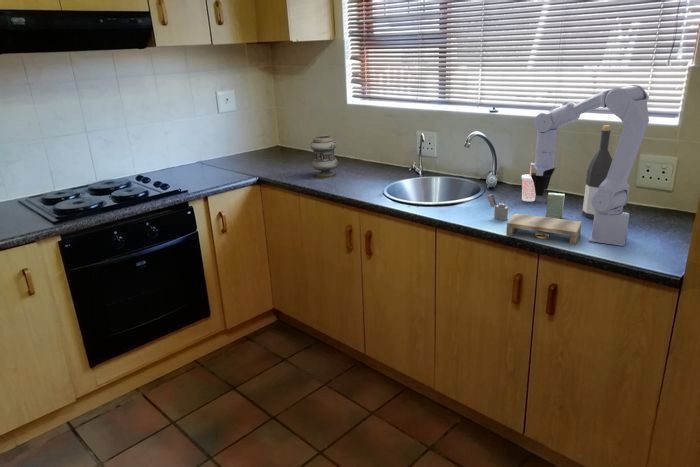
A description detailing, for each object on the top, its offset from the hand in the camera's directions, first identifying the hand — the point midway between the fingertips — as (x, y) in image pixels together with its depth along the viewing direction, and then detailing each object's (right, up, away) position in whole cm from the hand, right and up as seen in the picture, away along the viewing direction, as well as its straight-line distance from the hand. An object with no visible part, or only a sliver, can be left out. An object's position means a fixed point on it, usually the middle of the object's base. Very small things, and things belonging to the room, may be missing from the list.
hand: (541, 192), depth 172 cm
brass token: (-4, -15, -11) cm, 18 cm away
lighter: (-13, -8, +7) cm, 17 cm away
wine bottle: (+20, -8, +6) cm, 22 cm away
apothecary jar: (-74, +13, +72) cm, 104 cm away
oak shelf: (-3, -14, -9) cm, 17 cm away
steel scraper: (+3, -10, 0) cm, 10 cm away
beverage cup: (+4, -1, +25) cm, 25 cm away
